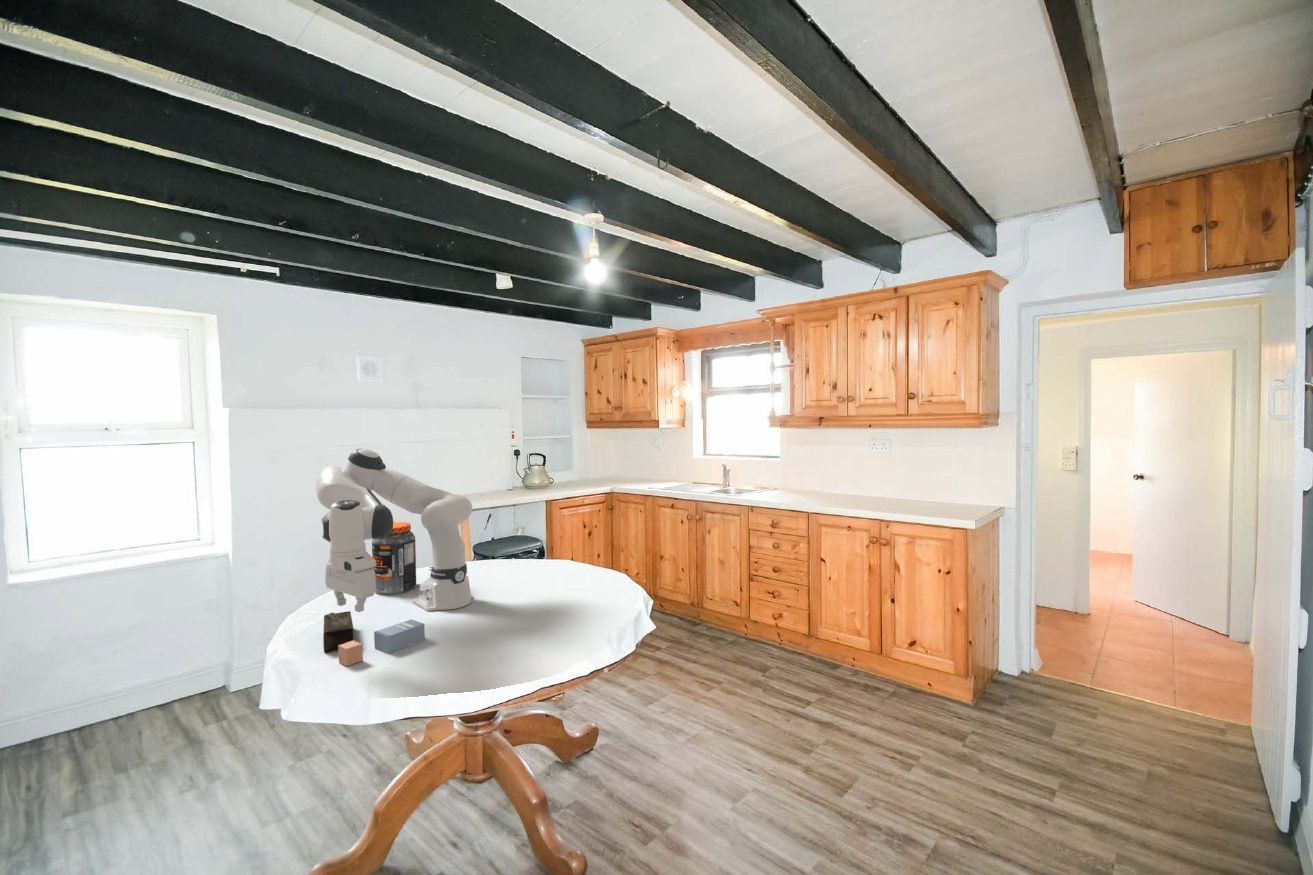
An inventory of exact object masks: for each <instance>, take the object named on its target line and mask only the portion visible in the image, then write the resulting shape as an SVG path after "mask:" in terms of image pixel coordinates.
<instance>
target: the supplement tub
mask: <svg viewBox="0 0 1313 875" xmlns="http://www.w3.org/2000/svg"><path fill="white" fill-rule="evenodd" d="M411 529H412V527H411V523H410V522H406V521H405V522H404V521H397V522H394V521H393V530H392V531H391V532H390V533H389V534H388V535H387V536H386V537H385V538H384V539H371V557H372V558H374V559H375V561H376V566H375V567H373V569H374V571H375V578H376V590H375V593H377V594H382V595H383V594H384V595H396V594H402V593H404V592H408V591H411V590H412V589H414V588H415V587H416V585H417V564H416V563H417V555H416V553H417V550H416V536H415V534H414V532H412V530H411Z"/></svg>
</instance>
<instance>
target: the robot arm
mask: <svg viewBox="0 0 1313 875" xmlns="http://www.w3.org/2000/svg"><path fill="white" fill-rule="evenodd" d="M315 489H316V497H317V499H318V502H319V503H320V504H321V505H322V506H323V507H324V508H326V509H327V510H329V511H328V512H327V513H326V514H325V515H324V516H323V517H322V519H321V523H322V537H321V538H322V539H324V540H325V541H327V542H328V543H330V548H329V559H328V563H327V564H326V566H325V579H324V580H325V581H324V582H325V586H326V588H327V589H330V590H333V593H334V597H335V598H336V604H337V606H339V607H343V606H346V604H347V598H345V595H344V594H346V595H349V596H352V597H355V600H356V604H355V605H354V611H355V612H357V613H362V612H363V611H364V610H365V603H366V601H367V598H371V597H373V596H374V595H375V593H376V592H375V590H376V578H375V571H374V569H373V567H375V566H376V561H375V559H374V558H372V555H370V554H369V552H368V551H366V550H367V546H366V545H367V544H366V543H365V541H367V540H373V539H384V538H385V537H386V536H387V535H388V534H389V533H390V532H391V531H392V530H393V522H394V516H393V514H392V511H391V510H390V509H389V507H387V505H384V504H383V503H382V502H381V501H380V500H379V499H378V498H377V496H376V495H375V494H374V493H376V494H377V495H378V496H379V497H381V498H382V499H384V500H385V501H387V502H389V503H391V504H394V505H395V506H396V507H399V508H400V509H403V510H406V511H407V512H410V513H411V514H418V515H420V521H421V524H422V526H423V528H424V529H426V530H427V532H428V535H429V537H430V542H431V547H432V566H430V567H429V571H430V575H429V577H428V578H427V579H426V580H425V581H423V583H422V584H420V586H419V590H418V596H416V597H414V598H413V599H412V600H411V602H412V603H413V604H414V605H416V606H418V607H420V608H421V609H423V610H425V611H427V612H434V611H444V610H445V611H447V610H453V609H458V608H463V607H465V606H467V605H469V604H470V603H471V602H472V599H473V597H474V595H473V593H471V587H470V580H469V579H470V578H469V576H468V575H467V574H468V567H467V563H466V543H465V541H464V540H463V539H462V538H461V537H462V536H461V534H460V530H459V525H461V524H463V523H465V521H467V520H468V518H469V517H470V516H471V515H472V512H473V504H472V502H471V500H470V499H469V498H467V497H466V496H464V495H458V494H454V493H452V492H449V491H446V490H443V489H439V488H436V487H433V486H430V485H427V484H425V483H423V482H422V481H420V480H419V481H418V480H417V479H415V478H413V477H410V476H409V475H406V474H404V473H401V472H398V471H395V470H393V469H389V468H387V466H386V464H385V463H384V461H383V459H382V457H381V456H380V455H379V454H378V453H377V452H375V451H373V450H371V449H367V448H357V449H356V448H355V449H353V450H352V452H351V453H350V454H349V456H348V458H347V461H346V462H345V464H344V467H341V466H336V465H331V466H328V467H325V468H324V469H322V470H321V472H320V473H319V475H318V477H317V480H316V486H315ZM372 491H373V492H372Z"/></svg>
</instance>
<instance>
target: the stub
mask: <svg viewBox="0 0 1313 875" xmlns="http://www.w3.org/2000/svg"><path fill="white" fill-rule="evenodd" d="M337 652H338V663H339V664H342V665H344V666H346V667H349V666H351V665H354V664H357V663H359V662H362V661H364V657H363V652H364V651H363V643H362V642H360V641H357V640H355V639H353V641H350V642H347V643H344V644H341V645H338V650H337Z"/></svg>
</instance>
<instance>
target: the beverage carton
mask: <svg viewBox="0 0 1313 875" xmlns="http://www.w3.org/2000/svg"><path fill="white" fill-rule="evenodd" d="M351 613H352V612H351V611H350V610H349V611H342V612H330V613H328V614H324V615H323V629H322V630H323V633H322V635H323V636H322V638H323V639H322V640H323V653H330V652H331V653H332V652H336V651H337V652H338V645H341V644H344V643H347V642H350V641H353V640H354V624H353V618H352V614H351Z"/></svg>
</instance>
